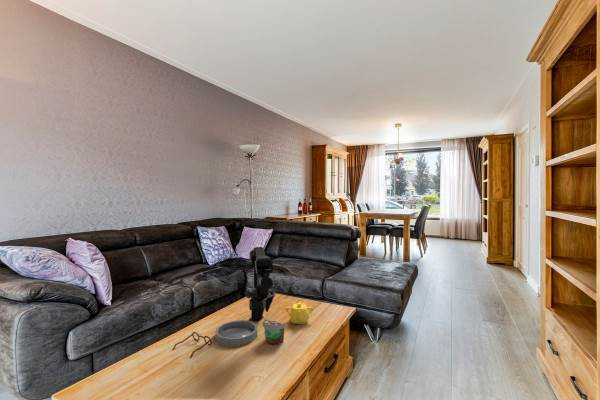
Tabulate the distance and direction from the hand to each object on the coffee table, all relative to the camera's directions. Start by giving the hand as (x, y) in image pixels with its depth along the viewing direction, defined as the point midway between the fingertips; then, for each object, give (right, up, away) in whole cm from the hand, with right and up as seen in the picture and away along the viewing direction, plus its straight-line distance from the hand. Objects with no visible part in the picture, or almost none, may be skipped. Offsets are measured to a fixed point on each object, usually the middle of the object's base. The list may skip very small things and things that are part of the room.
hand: (263, 315), depth 144 cm
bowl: (-15, -13, +7) cm, 21 cm away
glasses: (-33, -14, -5) cm, 37 cm away
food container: (+4, -14, 0) cm, 14 cm away
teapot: (+17, -13, +24) cm, 32 cm away
